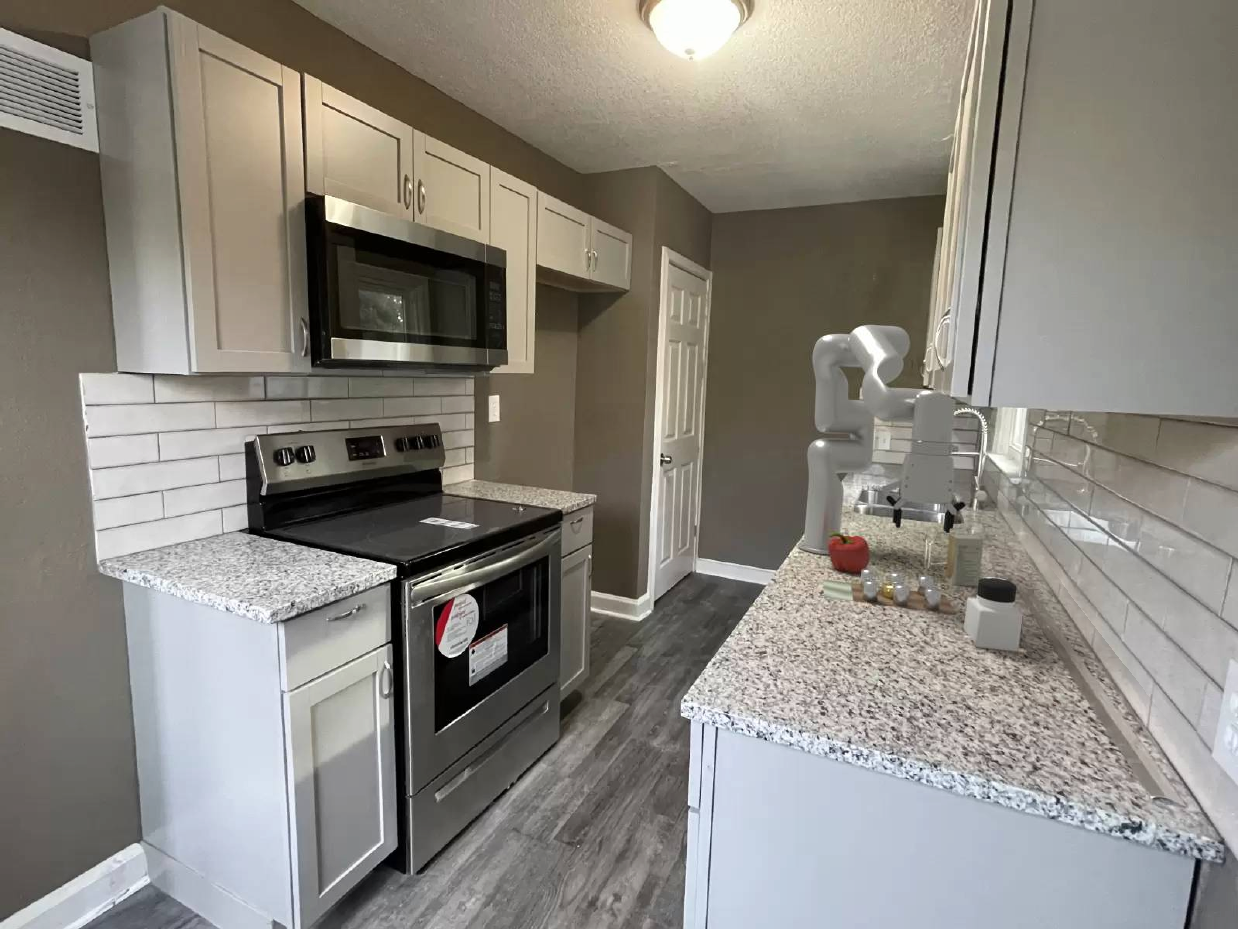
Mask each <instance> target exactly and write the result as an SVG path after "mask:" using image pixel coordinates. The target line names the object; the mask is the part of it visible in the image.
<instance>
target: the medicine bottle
mask: <svg viewBox="0 0 1238 929" xmlns="http://www.w3.org/2000/svg"><path fill="white" fill-rule="evenodd" d="M1017 588H1018V587H1017V586H1016V584H1015V583H1013V582H1011V581H1010V580H1008V579H1004V578H1002V577H1001V578H1000V577H994V576H986V577H980V579H979V581H978V587H977V590H976V598H975V597H968V598H967V599H966V608H965V616H964V626H963V630H964V632H965V633H966V634H967V635H968V637H969V638H970V639H972V640H970V641H971V643H972V644H973V645H974V646H975V647H976V648H978V649H979V648H981V649H989V650H998V651H1006V652H1016V653H1017V652H1019V649H1020V643H1021V642H1020V641H1021V635H1022V630H1023V628H1022V627H1023V622H1024V614H1023V613H1022V612H1021V611H1019V610H1018V609H1017V608H1015V604H1016V596H1017Z"/></svg>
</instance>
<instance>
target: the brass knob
mask: <svg viewBox="0 0 1238 929" xmlns="http://www.w3.org/2000/svg"><path fill="white" fill-rule="evenodd" d="M895 584H897V583H889V581H888V582H887V581H886V582H883V583H882V587H883V588H882V596H883V597H885V598H887V599H891V600H893V594H894V585H895Z"/></svg>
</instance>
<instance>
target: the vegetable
mask: <svg viewBox="0 0 1238 929" xmlns="http://www.w3.org/2000/svg"><path fill="white" fill-rule="evenodd" d="M833 536H838V537H840V538H838V539H836V538H835V539H832V540H830V543H829V546H828V550H829V554H830V555H829V558H830V562H831V564H832V567H833V568H834V569H835V570H837V571H840V572H841V571H842V572H844V571H845V572H847V573H850V574H861V571H862V569H865V568H866V569H867V566H868V565H869V561H870V551H869V550H870V549H869V544H868V542H867V541H866V538H864V537H863V536H860V535H854V536H850V535H844V534H842V533H841V532H840V533H831V534H830V535H829V537H831V538H832V537H833Z"/></svg>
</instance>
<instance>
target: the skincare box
mask: <svg viewBox="0 0 1238 929" xmlns="http://www.w3.org/2000/svg"><path fill="white" fill-rule="evenodd" d="M948 534H949V536H948V546H947V556H946V565H945V566H946V567H945V569H946V570H945V578H944V579H945V580H946V581H947V582H948V583H949V584H951V585H953V586H956V585H958V586H966V587H968V586H969V587H977V588H978V581H979V580H980V579H981V577H980V576H981V567H982V566H981V565H982V556H983V547H984V546H983V545H984V544H983V543H984V539H983V538H982V537H980V536H978V535H977V534H961V533H960V534H958V533H948Z"/></svg>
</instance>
